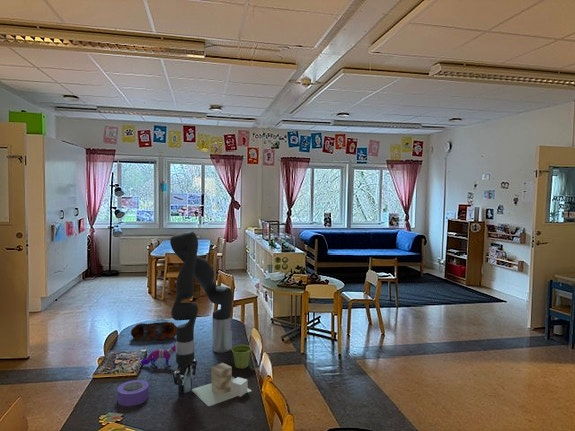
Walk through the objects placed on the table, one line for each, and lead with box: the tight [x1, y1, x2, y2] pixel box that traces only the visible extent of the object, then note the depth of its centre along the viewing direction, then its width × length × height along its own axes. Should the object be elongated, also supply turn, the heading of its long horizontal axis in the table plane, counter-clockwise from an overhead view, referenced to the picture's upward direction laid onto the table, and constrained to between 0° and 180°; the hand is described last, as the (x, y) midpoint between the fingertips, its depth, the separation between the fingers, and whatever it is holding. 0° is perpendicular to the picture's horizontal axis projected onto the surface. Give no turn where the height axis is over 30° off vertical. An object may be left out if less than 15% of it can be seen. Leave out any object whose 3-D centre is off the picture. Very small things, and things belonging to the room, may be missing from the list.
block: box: [231, 376, 249, 398], centre depth 169 cm, size 5×5×5 cm
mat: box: [190, 375, 252, 407], centre depth 171 cm, size 20×16×1 cm
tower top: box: [210, 362, 233, 384], centre depth 170 cm, size 6×6×5 cm
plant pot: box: [230, 344, 252, 369], centre depth 194 cm, size 9×9×9 cm
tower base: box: [211, 379, 231, 395], centre depth 171 cm, size 6×6×5 cm
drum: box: [181, 375, 192, 394], centre depth 170 cm, size 5×5×6 cm
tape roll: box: [116, 379, 150, 407], centre depth 164 cm, size 12×12×5 cm
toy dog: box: [140, 342, 176, 368], centre depth 194 cm, size 4×18×10 cm, turn 97°
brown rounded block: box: [130, 321, 178, 342], centre depth 232 cm, size 25×13×17 cm
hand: (185, 389), depth 171 cm, fingers closed on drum, 4 cm apart
